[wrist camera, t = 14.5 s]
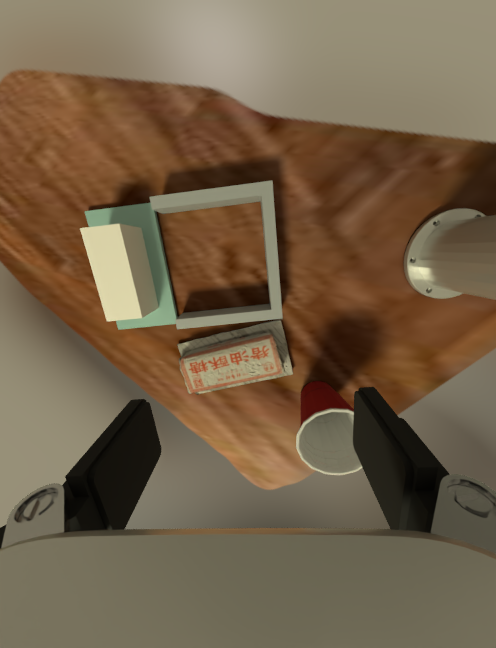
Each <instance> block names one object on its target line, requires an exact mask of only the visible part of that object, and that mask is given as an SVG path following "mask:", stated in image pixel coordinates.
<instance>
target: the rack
mask: <svg viewBox="0 0 496 648" xmlns="http://www.w3.org/2000/svg"><path fill="white" fill-rule="evenodd" d="M259 201H261V210H262V221H263V233H264V244H265V256H266V267H267V278H268V290H269V301H270V304H263V305H253V306H244V307H234V308H225V309H215V310H206V311H196V312H186V313H182V314H181V315H180V316H179V317H178V318H176V319H175V321H176V326H177V329H184V328H194V327H204V326H214V325H224V324H234V323H244V322H253V321H263V320H273V319H283V318H282V304H281V291H280V277H279V263H278V250H277V236H276V222H275V209H274V195H273V181H264V182H257V183H249V184H242V185H234V186H227V187H219V188H212V189H204V190H197V191H189V192H182V193H174V194H167V195H159V196H152V197H150V202H151V207H152V210H154V211H157V212H160V213H162V214H166V213H174V212H182V211H190V210H197V209H205V208H213V207H221V206H228V205H236V204H244V203H252V202H259Z"/></svg>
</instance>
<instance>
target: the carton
mask: <svg viewBox="0 0 496 648" xmlns="http://www.w3.org/2000/svg"><path fill="white" fill-rule="evenodd" d="M80 230H81V234H82V237H83V240H84V244H85V247H86V251H87V254H88V258H89V261H90V265H91V268H92V271H93V275H94V278H95V282H96V285H97V289H98V292H99V296H100V299H101V302H102V306H103V309H104V313H105V316H106V320H107V321H117V320H128V319H138V318H143V317H145V316H147V315H148V314H150V313H151V312H153V311H155V310H156V309H158V308H159V306H158V301H157V297H156V292H155V288H154V283H153V278H152V274H151V269H150V265H149V260H148V256H147V251H146V247H145V242H144V238H143V233H142V228H140V227H134V226H129V225H124V224H112V225H103V226H95V227H87V228H80Z"/></svg>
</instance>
